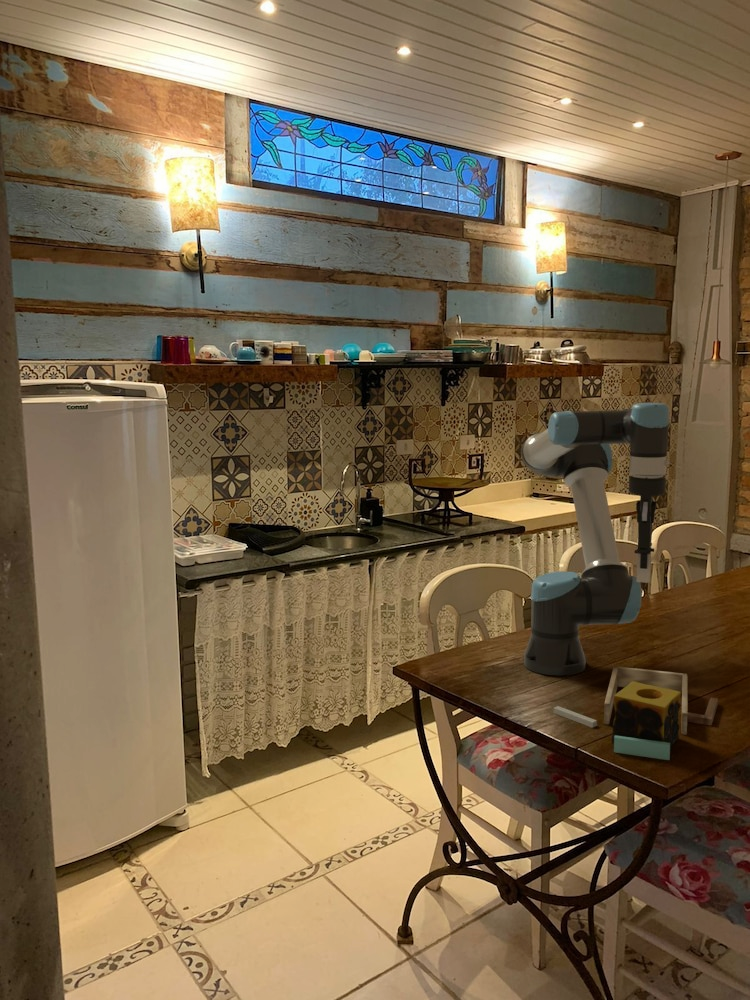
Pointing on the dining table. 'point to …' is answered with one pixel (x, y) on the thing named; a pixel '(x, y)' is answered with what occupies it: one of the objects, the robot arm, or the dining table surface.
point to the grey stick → (575, 717)
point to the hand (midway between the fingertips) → (643, 581)
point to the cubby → (649, 677)
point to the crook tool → (708, 716)
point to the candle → (647, 713)
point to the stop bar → (642, 747)
